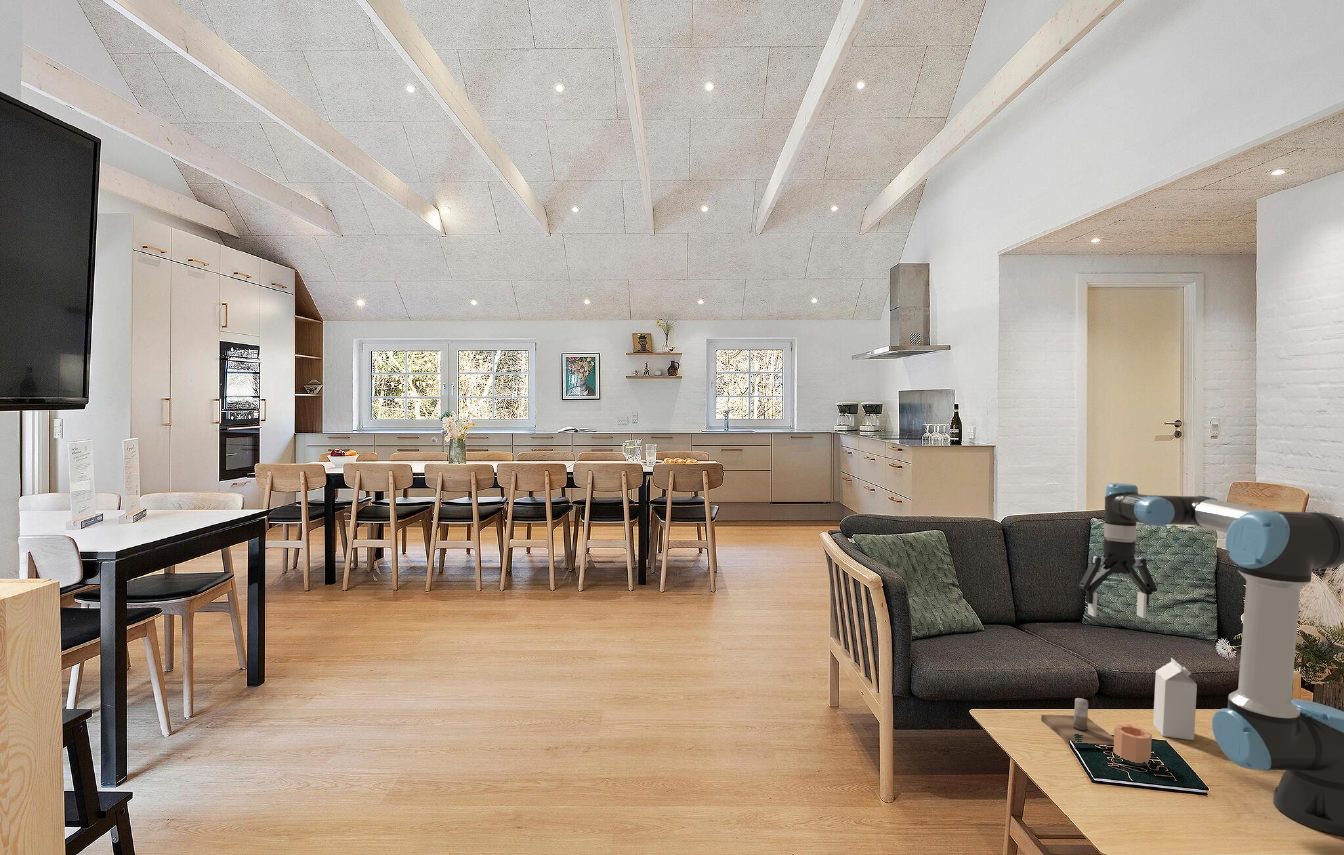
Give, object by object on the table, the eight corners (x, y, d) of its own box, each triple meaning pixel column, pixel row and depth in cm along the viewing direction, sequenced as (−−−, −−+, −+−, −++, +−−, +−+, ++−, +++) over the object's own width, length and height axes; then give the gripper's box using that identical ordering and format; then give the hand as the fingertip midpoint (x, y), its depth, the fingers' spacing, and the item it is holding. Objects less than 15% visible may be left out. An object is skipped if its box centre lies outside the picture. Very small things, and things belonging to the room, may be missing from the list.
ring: (1156, 767, 170) (1157, 738, 170) (1126, 766, 170) (1127, 737, 169) (1136, 752, 177) (1137, 724, 177) (1107, 751, 177) (1108, 724, 177)
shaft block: (1122, 749, 178) (1124, 714, 178) (1074, 748, 178) (1076, 713, 178) (1084, 721, 194) (1086, 688, 194) (1041, 720, 194) (1042, 687, 194)
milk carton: (1162, 736, 186) (1166, 665, 186) (1152, 725, 193) (1156, 656, 192) (1194, 741, 184) (1197, 668, 183) (1183, 729, 191) (1186, 659, 190)
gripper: (1155, 538, 200) (1152, 613, 201) (1066, 535, 200) (1064, 610, 201) (1174, 543, 193) (1171, 620, 193) (1082, 540, 193) (1079, 618, 193)
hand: (1116, 615), depth 197 cm, fingers open, 13 cm apart
